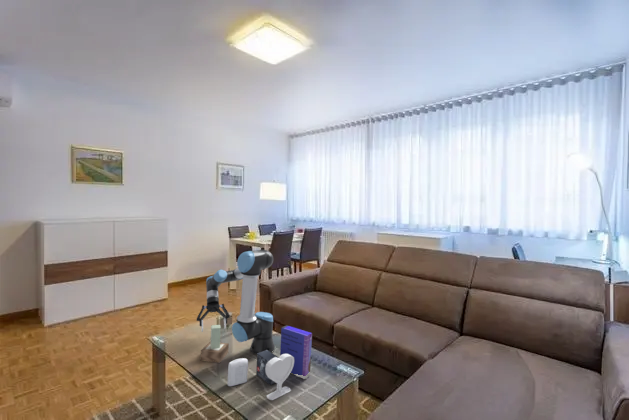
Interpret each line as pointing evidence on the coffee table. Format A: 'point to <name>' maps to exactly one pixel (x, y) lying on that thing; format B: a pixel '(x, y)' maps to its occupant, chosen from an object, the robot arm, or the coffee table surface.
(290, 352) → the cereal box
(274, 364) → the heart sculpture
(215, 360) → the walnut riser block
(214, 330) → the sage block
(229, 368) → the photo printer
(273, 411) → the coffee table surface
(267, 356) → the small box
